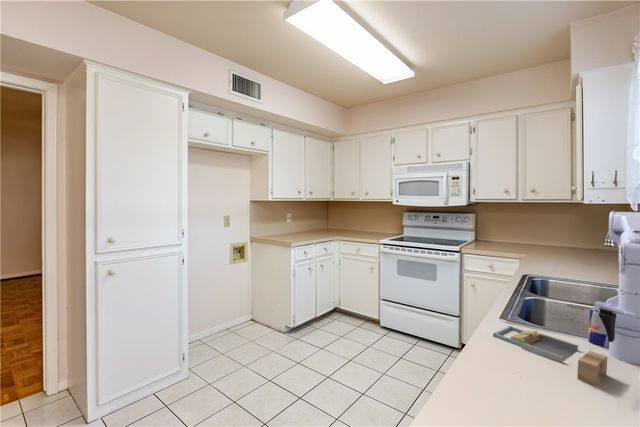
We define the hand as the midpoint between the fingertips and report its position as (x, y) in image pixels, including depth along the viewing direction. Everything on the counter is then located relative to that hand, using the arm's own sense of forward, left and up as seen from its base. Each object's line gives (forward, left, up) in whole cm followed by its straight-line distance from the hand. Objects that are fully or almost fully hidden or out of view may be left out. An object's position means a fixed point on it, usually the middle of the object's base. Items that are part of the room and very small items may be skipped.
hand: (632, 346), depth 76 cm
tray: (-3, -28, -10) cm, 30 cm away
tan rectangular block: (+5, -6, -10) cm, 13 cm away
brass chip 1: (-1, -24, -9) cm, 26 cm away
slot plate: (-3, -18, -10) cm, 21 cm away
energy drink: (-21, -11, -11) cm, 26 cm away
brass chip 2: (-6, -24, -9) cm, 27 cm away
